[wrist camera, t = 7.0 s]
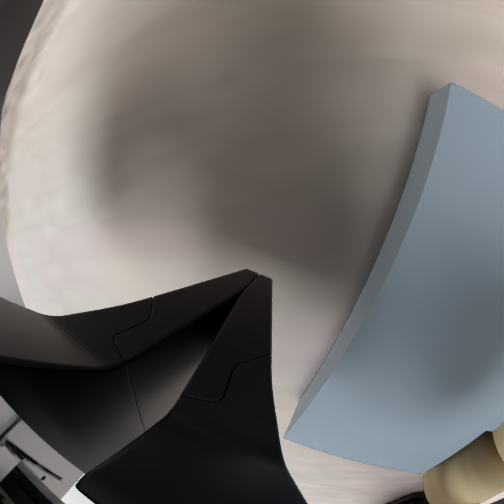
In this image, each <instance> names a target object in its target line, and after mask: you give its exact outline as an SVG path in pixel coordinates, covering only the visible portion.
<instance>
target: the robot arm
mask: <svg viewBox="0 0 504 504" xmlns="http://www.w3.org/2000/svg"><path fill="white" fill-rule="evenodd" d="M271 354H272V279H271V278H269V277H266V276H263V275H259V274H258V273H256V272H254V271H251V270H249V269H244V270H241V271H238V272H234V273H231V274H228V275H224V276H221V277H218V278H215V279H211V280H208V281H204V282H201V283H198V284H194V285H191V286H188V287H184V288H181V289H178V290H174V291H171V292H167V293H164V294H161V295H157V296H154V297H153V298H152V297H150V298H146V299H143V300H139V301H136V302H132V303H128V304H124V305H119V306H115V307H110V308H105V309H99V310H94V311H88V312H82V313H77V314H71V315H64V316H49V315H44V314H40V313H37V312H35V311H32V310H30V309H27V308H25V307H22V306H19V305H17V304H15V303H12V302H10V301H8V300H6V299H3V298H1V297H0V504H65V503H64V502H63V501H61V498H62V497H63V496H64V495H65V494H66V493H67V492H68V491H69V489H70V488H71V487H72V486H73V485H74V484H75V483H76V482H77V481H78V479H79V478H80V477H81V476H82V475H83V474H84V473H85V475H84V476H83V477H82V478H81V479H80V480H79V481H78V483H77V484H76V488H77V489H78V490H79V491H80V492H81V493H82V494H83V495H85V496H86V497H87V498H88V499H90V500H91V501H92V502H93V503H95V504H307V502H306V500H305V499H304V497H303V495H302V494H301V492H300V490H299V489H298V487H297V485H296V484H295V482H294V480H293V478H292V477H291V475H290V473H289V471H288V469H287V467H286V465H285V461H284V458H283V454H282V450H281V445H280V439H279V432H278V425H277V419H276V412H275V406H274V398H273V389H272V369H271V363H272V356H271ZM390 504H429V502H428V500H427V498H426V496H425V494H412V495H409V496H407V497H405V498H402V499H400V500H397V501H395V502H392V503H390Z"/></svg>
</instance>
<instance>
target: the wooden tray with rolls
mask: <svg viewBox="0 0 504 504" xmlns="http://www.w3.org/2000/svg"><path fill="white" fill-rule="evenodd" d="M423 487H424V492H425V496H426V498H427V500H428V502H429V504H480V503H482V502H484V501H486V500H488V499H490V498H491V497H493V496H495V495H497V494H499V493H501V492H502V491H504V462H503V460H502V458H501V457H500V455H499V453H498V450H497V448H496V445H495V441H494V437H493V432H492V431H485V432H484V433H482V434H481V435H480V436H478V437H477V438H476V439H474V440H473V441H472V442H470V443H469V444H468V445H466V446H465V447H463V448H462V449H461V450H459V451H458V452H456V453H455V454H453V455H452V456H450V457H449V458H447V459H446V460H444V461H442V462H441V463H439V464H438V465H436V466H434V467H433V468H431V469H429V470H427V471H426V472H424V476H423Z"/></svg>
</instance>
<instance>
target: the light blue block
mask: <svg viewBox="0 0 504 504" xmlns="http://www.w3.org/2000/svg"><path fill="white" fill-rule="evenodd" d="M485 431H492V432H493V437H494V441H495V445H496V448H497V450H498V453H499V455H500V457H501V458H502V460H503V462H504V112H503V111H502V110H500V109H499V108H497V107H495V106H494V105H492V104H491V103H489V102H487V101H486V100H484V99H482V98H480V97H479V96H477V95H475V94H473V93H472V92H470V91H468V90H466V89H464V88H462V87H460V86H458V85H456V84H454V83H452V82H451V83H450V84H448V85H446V86H445V87H443V88H442V89H440V90H439V91H437V92H435V93H434V94H432V95H431V96H430V99H429V103H428V108H427V112H426V116H425V120H424V124H423V128H422V132H421V136H420V140H419V143H418V147H417V150H416V154H415V157H414V160H413V164H412V167H411V170H410V173H409V176H408V179H407V182H406V185H405V188H404V191H403V194H402V197H401V200H400V202H399V205H398V208H397V211H396V213H395V216H394V218H393V221H392V224H391V226H390V229H389V231H388V234H387V236H386V239H385V241H384V243H383V246H382V248H381V251H380V253H379V255H378V257H377V260H376V262H375V264H374V266H373V269H372V271H371V273H370V275H369V277H368V279H367V282H366V284H365V286H364V288H363V290H362V292H361V294H360V296H359V298H358V300H357V302H356V304H355V306H354V308H353V310H352V312H351V314H350V316H349V318H348V320H347V322H346V323H345V325H344V327H343V329H342V331H341V333H340V334H339V336H338V338H337V340H336V342H335V343H334V345H333V347H332V349H331V350H330V352H329V354H328V356H327V357H326V359H325V361H324V362H323V364H322V366H321V367H320V369H319V371H318V372H317V374H316V376H315V377H314V379H313V380H312V382H311V383H310V385H309V387H308V388H307V390H306V391H305V393H304V394H303V396H302V397H301V399H300V400H299V402H298V405H297V407H296V410H295V412H294V415H293V417H292V419H291V422H290V424H289V426H288V429H287V431H286V433H285V436H284V439H287V440H289V441H292V442H295V443H298V444H300V445H303V446H306V447H309V448H312V449H315V450H318V451H321V452H325V453H328V454H331V455H335V456H338V457H342V458H345V459H349V460H353V461H357V462H361V463H365V464H369V465H374V466H378V467H383V468H388V469H394V470H400V471H406V472H412V473H420V474H422V473H424V472H426V471H427V470H429V469H431V468H433V467H434V466H436V465H438V464H439V463H441V462H442V461H444V460H446V459H447V458H449V457H450V456H452V455H453V454H455V453H456V452H458V451H459V450H461V449H462V448H463V447H465V446H466V445H468V444H469V443H470V442H472V441H473V440H474V439H476V438H477V437H478V436H480V435H481V434H482V433H484V432H485Z"/></svg>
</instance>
